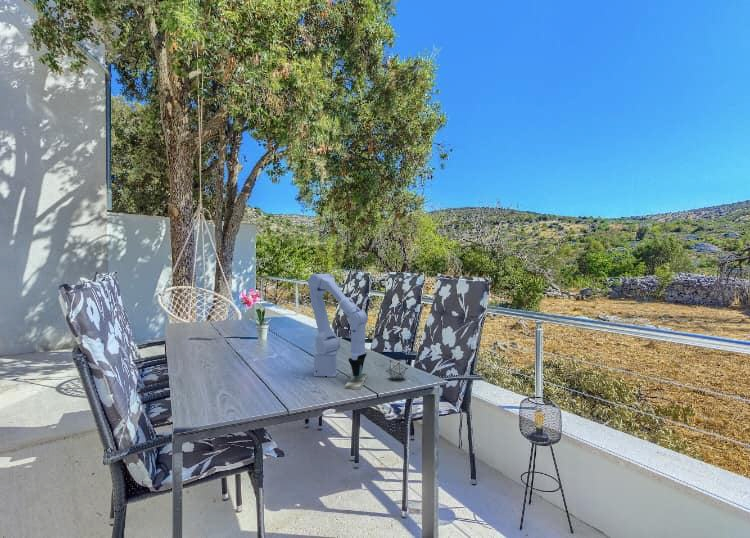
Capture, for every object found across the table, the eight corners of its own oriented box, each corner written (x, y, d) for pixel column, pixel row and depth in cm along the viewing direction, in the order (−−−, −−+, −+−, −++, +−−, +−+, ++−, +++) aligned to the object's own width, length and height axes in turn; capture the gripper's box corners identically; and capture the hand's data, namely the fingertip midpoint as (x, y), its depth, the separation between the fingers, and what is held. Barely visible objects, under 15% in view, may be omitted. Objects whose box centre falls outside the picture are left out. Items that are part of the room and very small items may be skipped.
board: (344, 388, 153) (344, 385, 153) (353, 375, 171) (353, 373, 171) (359, 389, 152) (359, 386, 152) (367, 376, 170) (367, 373, 170)
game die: (400, 389, 165) (405, 373, 159) (381, 380, 167) (386, 365, 161) (406, 373, 172) (412, 358, 166) (388, 365, 174) (393, 350, 168)
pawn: (353, 378, 163) (353, 361, 163) (355, 376, 166) (355, 360, 166) (360, 379, 162) (360, 362, 162) (362, 377, 165) (362, 360, 165)
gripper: (364, 344, 156) (364, 378, 156) (370, 337, 170) (370, 369, 170) (346, 343, 157) (346, 378, 157) (354, 337, 171) (354, 368, 171)
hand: (357, 373), depth 164 cm, fingers open, 7 cm apart
